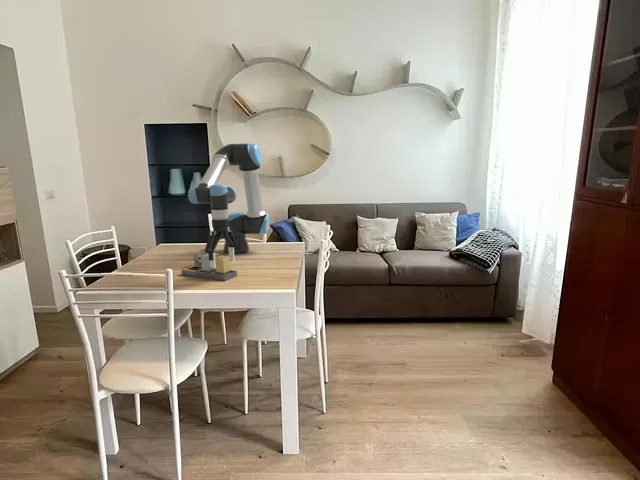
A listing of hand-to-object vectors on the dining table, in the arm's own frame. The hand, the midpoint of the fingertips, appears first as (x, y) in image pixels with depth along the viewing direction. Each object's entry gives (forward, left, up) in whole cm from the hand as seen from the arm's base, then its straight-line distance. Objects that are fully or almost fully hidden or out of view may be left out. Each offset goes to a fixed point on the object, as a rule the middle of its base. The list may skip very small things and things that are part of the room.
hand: (222, 263), depth 196 cm
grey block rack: (0, -9, -7) cm, 11 cm away
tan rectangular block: (0, 0, -7) cm, 7 cm away
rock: (-14, -23, -7) cm, 28 cm away
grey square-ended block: (0, -9, -7) cm, 11 cm away
